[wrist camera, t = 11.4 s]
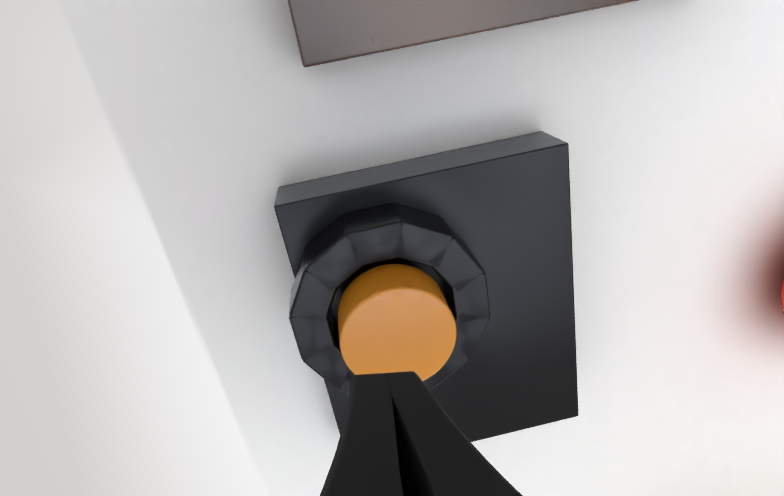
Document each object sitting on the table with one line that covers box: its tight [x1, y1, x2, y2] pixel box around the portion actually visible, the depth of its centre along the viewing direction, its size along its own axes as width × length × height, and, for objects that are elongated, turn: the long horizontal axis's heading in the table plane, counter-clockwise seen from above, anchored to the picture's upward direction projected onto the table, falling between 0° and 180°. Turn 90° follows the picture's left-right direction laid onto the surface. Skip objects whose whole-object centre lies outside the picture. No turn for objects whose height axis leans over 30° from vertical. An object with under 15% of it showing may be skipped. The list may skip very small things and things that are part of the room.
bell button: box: [338, 264, 457, 381], centre depth 17 cm, size 4×4×2 cm
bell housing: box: [274, 131, 578, 442], centre depth 20 cm, size 10×12×4 cm
